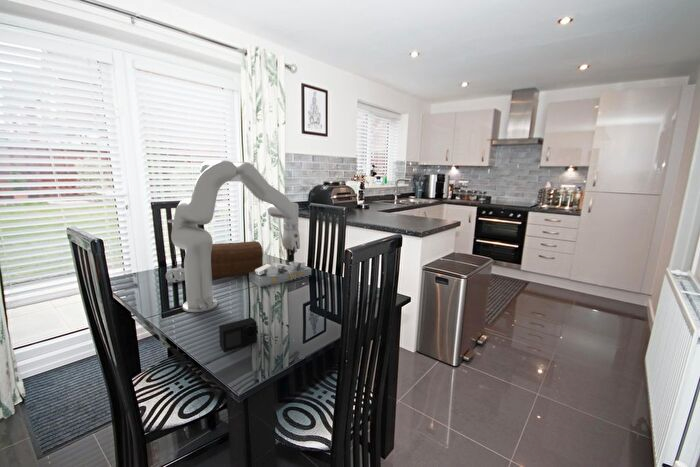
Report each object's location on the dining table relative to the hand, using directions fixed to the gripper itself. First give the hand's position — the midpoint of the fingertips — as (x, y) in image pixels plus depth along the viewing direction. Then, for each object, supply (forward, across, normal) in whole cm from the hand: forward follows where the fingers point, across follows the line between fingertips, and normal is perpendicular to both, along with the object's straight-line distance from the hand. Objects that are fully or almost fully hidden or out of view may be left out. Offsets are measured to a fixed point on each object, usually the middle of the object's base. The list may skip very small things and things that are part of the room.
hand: (290, 261), depth 165 cm
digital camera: (+9, -49, +47) cm, 69 cm away
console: (+8, 0, +6) cm, 10 cm away
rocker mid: (+2, 0, +6) cm, 6 cm away
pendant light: (+9, +25, +48) cm, 55 cm away
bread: (+8, +24, +22) cm, 33 cm away
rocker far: (+2, 0, -4) cm, 4 cm away
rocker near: (+2, 0, +15) cm, 15 cm away
